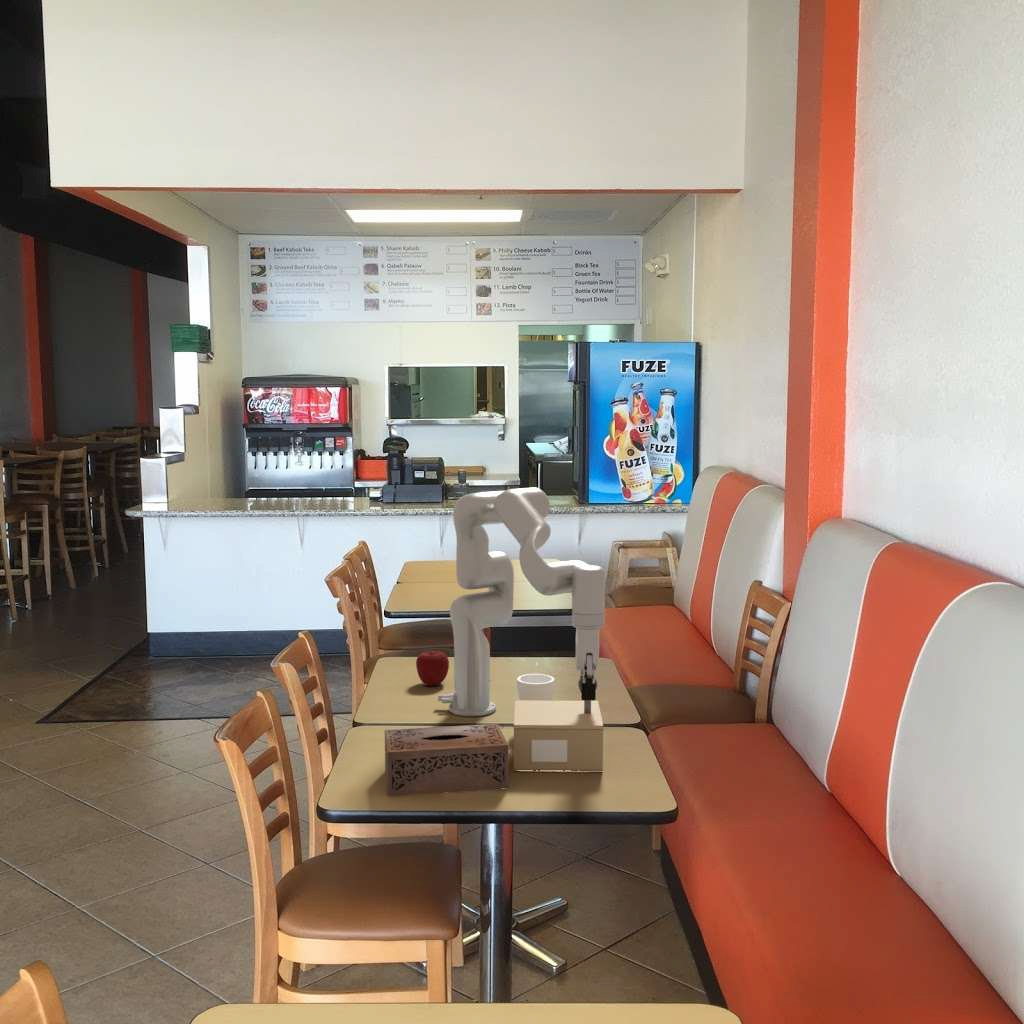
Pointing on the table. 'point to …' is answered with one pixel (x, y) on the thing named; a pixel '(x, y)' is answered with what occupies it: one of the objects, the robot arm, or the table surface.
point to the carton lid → (558, 714)
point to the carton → (558, 749)
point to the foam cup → (535, 687)
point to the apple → (432, 667)
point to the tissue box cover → (445, 759)
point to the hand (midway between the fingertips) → (587, 695)
